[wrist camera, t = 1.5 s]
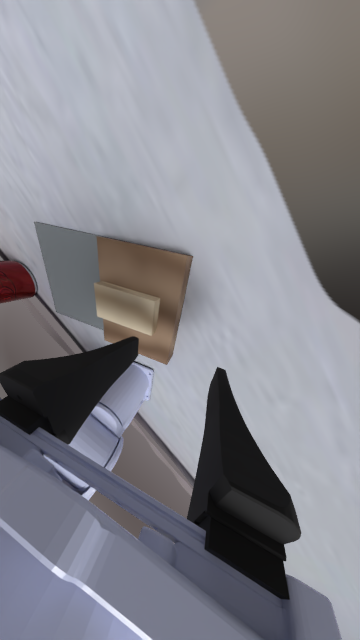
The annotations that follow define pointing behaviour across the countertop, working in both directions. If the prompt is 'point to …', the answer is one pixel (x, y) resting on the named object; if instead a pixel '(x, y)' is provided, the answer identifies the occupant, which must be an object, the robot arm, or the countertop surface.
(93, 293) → the charcoal mat
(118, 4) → the countertop surface
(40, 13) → the countertop surface
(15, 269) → the soda can
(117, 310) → the birch tile
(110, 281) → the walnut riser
